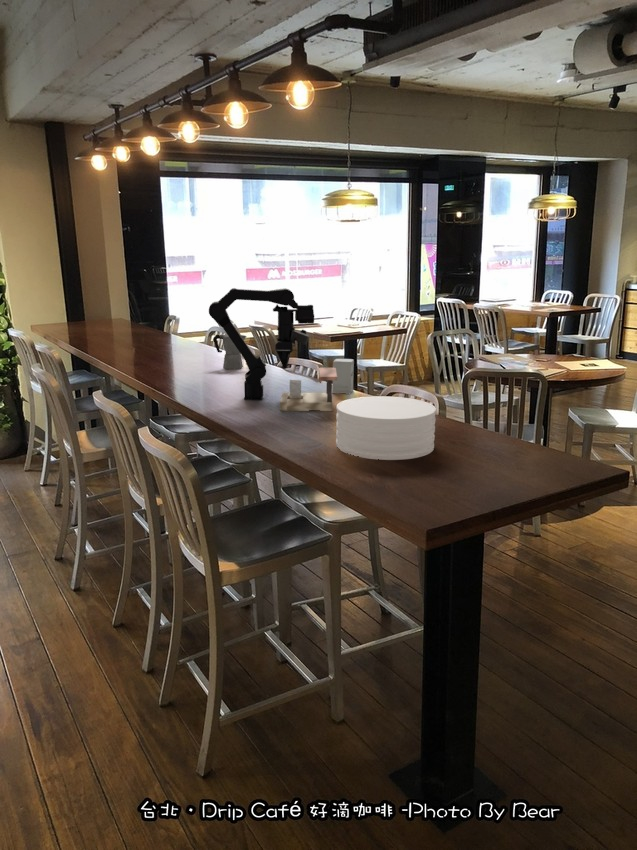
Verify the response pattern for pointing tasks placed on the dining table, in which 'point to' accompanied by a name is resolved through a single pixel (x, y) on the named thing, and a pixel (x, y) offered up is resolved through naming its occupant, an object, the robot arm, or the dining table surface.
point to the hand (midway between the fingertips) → (285, 365)
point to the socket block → (312, 396)
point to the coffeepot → (229, 352)
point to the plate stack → (385, 427)
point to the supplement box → (343, 376)
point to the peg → (295, 389)
